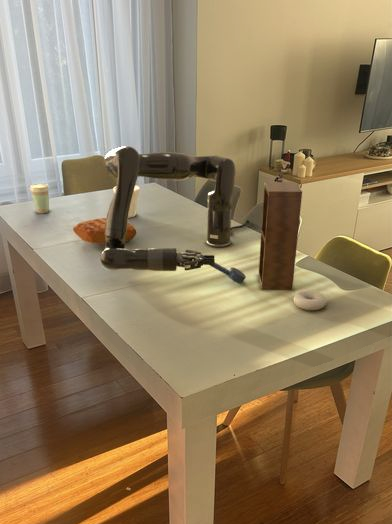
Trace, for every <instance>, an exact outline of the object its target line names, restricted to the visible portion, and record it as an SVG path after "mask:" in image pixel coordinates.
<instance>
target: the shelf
mask: <svg viewBox="0 0 392 524" xmlns="http://www.w3.org/2000/svg"><path fill="white" fill-rule="evenodd" d="M263 186H264V187H263V200H262V213H261V214H262V216H261V227H260V228H261V230H260V231H261V232H260V244H259V245H260V246H259V257H258V258H259V260H258V262H259V263H258V272H257V273H258V279H259V280H258V281H259V283H260V287H261V290H262V291H266V290H267V291H275V290H276V291H293V286H294V276H295V269H296V259H297V258H296V256H297V248H298V238H299V237H298V236H299V228H300V218H301V209H302V199H303V191H302V189H301V188H300V186H299V185H298V183H297V182H296V181H264V185H263Z"/></svg>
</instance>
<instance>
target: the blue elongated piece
mask: <svg viewBox="0 0 392 524" xmlns="http://www.w3.org/2000/svg"><path fill="white" fill-rule="evenodd" d="M203 255H204V254H203ZM203 255H199V257H198V258H206V257H204V256H203ZM209 266H210V267H212V268H213V269H215V270H217V271H219V272H220V273H222V274H224V275H225V276H228V278H229V279H230V280H231V281H232V282H235V283H237V284H239V285H241V284H243V283H244V281H245V280H246V278H247V276H246V274H245V273H244V272H242V271H241V270H240V269H239V268H236V267H232V266H231V267H230V268H229V269H228V268H226V267H224V266H222V265H221V264H219V263H217V262H215V264H214V265H209Z"/></svg>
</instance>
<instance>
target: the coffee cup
mask: <svg viewBox="0 0 392 524" xmlns="http://www.w3.org/2000/svg"><path fill="white" fill-rule="evenodd" d="M29 191H30V193H31V197H32V200H33V201H32V202H33V204H34V209H35V212H36V213H37V214H46V213H49V212H50V188H49V185H48V184H46V183H33V184H31V185H30V188H29Z"/></svg>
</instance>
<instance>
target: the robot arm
mask: <svg viewBox="0 0 392 524" xmlns="http://www.w3.org/2000/svg"><path fill="white" fill-rule="evenodd" d="M103 165H104V170H105V171H106V172H107V173H108V175H110V176H111V177H113V178H116V179H117V182H116V186H117V187H116V186H115V187H116V191H115V193H114V194H113V197H112V199H111V202H110V204H109V207H108V209H107V213H106V217H105V218H106V225H105V238H106V244H104V250H102V252H101V253H100V255H99V261H100V263H101V265H102V267H104V268H106V269H107V270H110V271H118V270H135V271H152V272H153V271H154V272H176V271H177V268H178V267H179V268H184V269H183V270H184V271H192V270H197V269H201V268H202V267H203V266H210V265H214V264H215V263H216V262H215V261H216V260H215V255H214V254H203V253H202V252H201V251H197V250H191V249H185V250H184V251H183V252H179V253H178V252H177V251H178V250H177V248H175V247H152V248H126V242H125V237H126V231H127V223H129V217H128V215H129V209H130V204H131V200H132V196H133V192H134V188H135V186H136V184H137V181H138V177H139V178H140V177H142V178H149V179H158V180H166V181H185V180H188V179H190V178H191V179H192V178H199V179H205V180H209V181H211V182H215V186H214V190H210V191H209V192H208V193H207V216H206V217H207V218H206V219H207V223H206V225H207V226H206V228H207V229H206V244H207V245H208V246H210V247H213V248H225V247H228V246H230V245H231V236H232V230H236V229H241V228H244V227H246V226H247V224H249V223H250V220H249V219H245V221H244V223H243V224H241V225H236V226H235V225H234V226H232V200H233V195H234V193H235V184H236V176H237V175H236V173H237V172H236V171H237V170H236V169H237V168H236V165H235V162H234V160H233V159H231V158H229V157H225V156H220V155H203V156H202V155H201V156H198V155H196V156H195V155H192V154H187V153H182V152H173V151H161V152H151V153H139V152H138V151H137V150H136V149H135V148H134V147H132V146H121V147H118V148H115V149H112V150H111V151H109V152H108V153H106V155H105V157H104V160H103ZM199 255H203V256H204V257H206V258H198V257H199Z"/></svg>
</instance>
